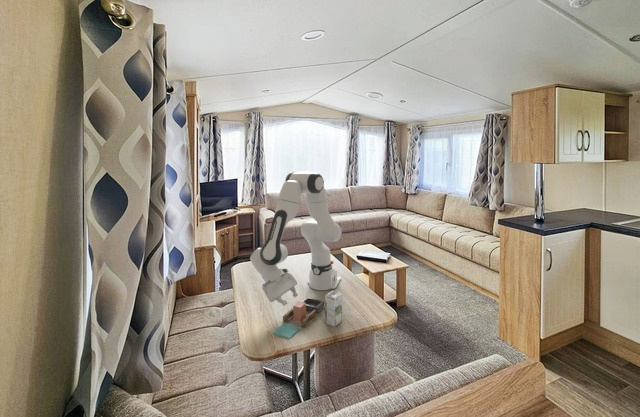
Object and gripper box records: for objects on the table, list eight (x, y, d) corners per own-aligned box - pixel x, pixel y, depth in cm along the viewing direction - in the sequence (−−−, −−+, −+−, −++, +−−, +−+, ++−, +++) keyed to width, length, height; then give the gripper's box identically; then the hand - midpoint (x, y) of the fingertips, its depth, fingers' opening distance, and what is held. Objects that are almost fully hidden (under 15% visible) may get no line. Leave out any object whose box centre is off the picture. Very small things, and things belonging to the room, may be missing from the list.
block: (299, 315, 151) (298, 301, 150) (306, 317, 150) (305, 302, 148) (293, 320, 147) (293, 305, 146) (300, 322, 145) (300, 307, 144)
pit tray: (307, 302, 165) (307, 297, 164) (324, 306, 160) (324, 300, 160) (299, 309, 158) (299, 303, 157) (317, 313, 153) (316, 307, 153)
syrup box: (332, 318, 149) (332, 289, 146) (342, 322, 145) (342, 293, 142) (325, 323, 144) (324, 294, 142) (335, 327, 141) (335, 297, 138)
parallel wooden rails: (296, 310, 156) (296, 304, 156) (316, 315, 151) (316, 309, 150) (283, 322, 146) (282, 316, 145) (303, 327, 141) (303, 321, 140)
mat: (283, 323, 144) (283, 322, 144) (300, 328, 140) (300, 327, 140) (272, 333, 137) (272, 332, 136) (289, 339, 132) (289, 338, 132)
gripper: (264, 282, 141) (282, 306, 138) (288, 267, 159) (305, 288, 156) (256, 289, 144) (274, 313, 141) (281, 274, 162) (298, 295, 159)
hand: (291, 300), depth 149 cm, fingers open, 8 cm apart
